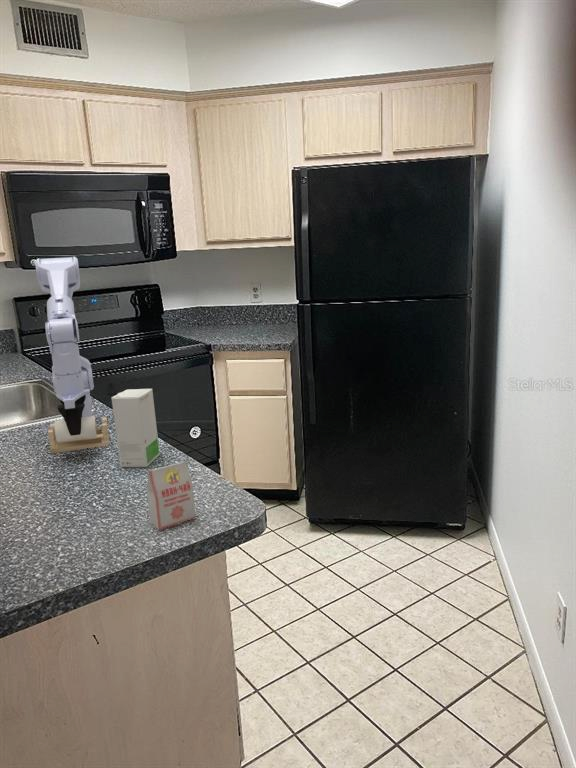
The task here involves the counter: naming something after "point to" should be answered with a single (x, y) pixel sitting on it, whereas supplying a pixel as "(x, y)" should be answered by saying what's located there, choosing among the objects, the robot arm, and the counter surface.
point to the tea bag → (170, 495)
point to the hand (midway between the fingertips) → (76, 431)
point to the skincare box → (135, 427)
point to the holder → (79, 440)
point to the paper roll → (86, 429)
